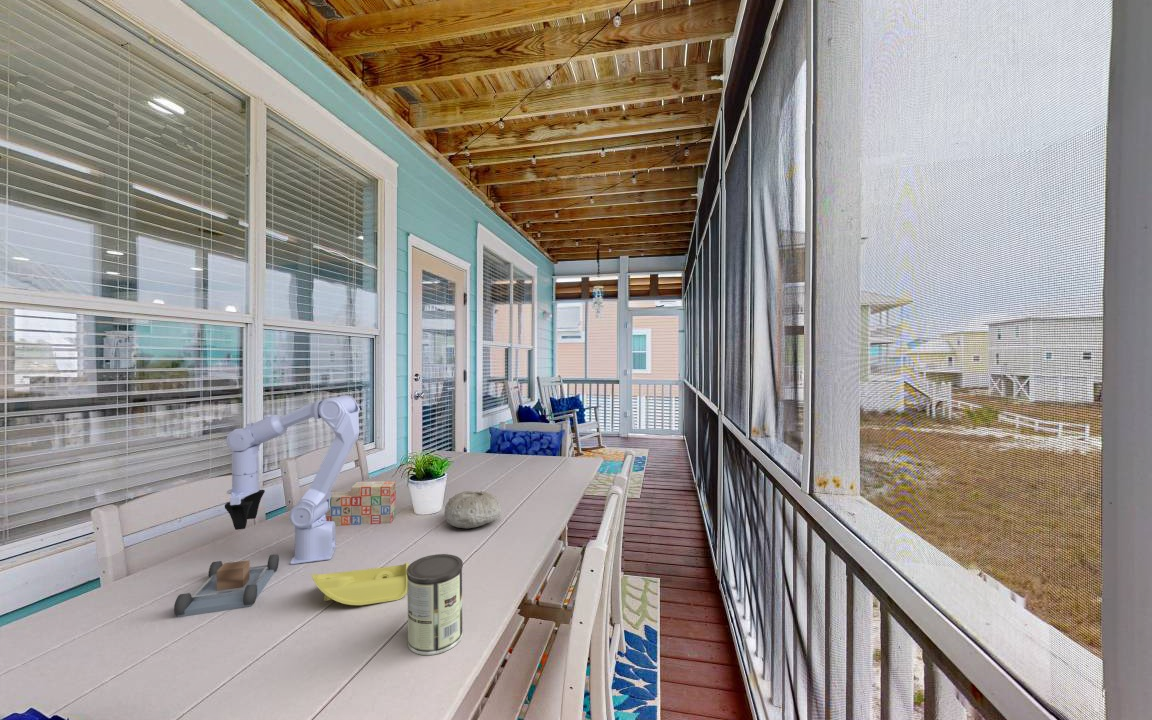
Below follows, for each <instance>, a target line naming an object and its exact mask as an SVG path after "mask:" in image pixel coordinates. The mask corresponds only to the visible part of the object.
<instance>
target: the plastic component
mask: <svg viewBox="0 0 1152 720" xmlns="http://www.w3.org/2000/svg"><path fill="white" fill-rule="evenodd" d="M409 565H410V564H409V562H406V563H404V564H401V565H391V566H385V567H384V566H383V567H376V568H375V567H374V568H367V569H365V568H364V569H358V570H357V569H356V570H349V571H342V572H332V573H322V574H321V573H320V574H319V573H318V574H315V573H313V574H311V577H312V580H313V582H314V583H315V585H316V586H317V588H318V589H319V591H321V592H322V593H323V594H324V602H325V601H332V600H334V601H335V602H337V603H341V604H343V605H349V606H366V605H372V604H378V603H380V604H381V603H386V602H391V601H392V602H393V601H398V600H401V599H402V598H403V597H405V595H407V594H408V593H407V568H408V566H409Z"/></svg>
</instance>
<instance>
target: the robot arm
mask: <svg viewBox="0 0 1152 720" xmlns="http://www.w3.org/2000/svg"><path fill="white" fill-rule="evenodd" d="M360 411H361V409H360V406H359V404H358V402H357V401H356V399H355V398H354V397H353V396H351V395H349V394H341V395H338V396H336V397H328V398H325V399H323V400H319V401H314V402H311V403H308V404H306V405H304V406H302V407H300V408H298V409H296V410H294V411H291V412H289V413H287V414H285V415H284V414H283V416H282V415H280V414H279V415H278V414H266V415H264V416H263V419H260V420H258V421H256V422H249V423H246V427H243V428H234V429H233V430H232V431H230V432H229V433H228V435H227V436H226V440H225V441H226V442H225V443H226V445H227V447H228V448H229V449H230V450H231V489H228V490H227V491H226V494H227V495H231V496H230V497H229V501H228V502H226V503H225V504H224V509H225V510H226V511H227V513H228V514H229V516H230V519H231V521H232V525H233V528H234V530H245V529H246V528H247V523H248V520H253V519H256V518H257V515H258V511H259V507H260V502H261V500H262V498H263V496H264V494H265V493H266V491H265V490H266V489H260V481H259V480H260V479H259V476H260V475H259V474H260V473H259V472H260V471H259V468H260V467H259V463H260V462H259V451H260V445H262V444H264V443H266V442H267V441H271V440H273V439H275V438H277V437H279V436H282V435H285V433H286V432H287V430H288V428H289V427H291V426H293V425H296V424H299V423H301V422H304V421H307V420H309V419H312V418H314V419H318V420H319V419H322V420H323V421H324V422H325V424H327V425H328V426H329V427H330V428H331V429H332V431H333V433H334V438H333V440H332V442H331V445H330V447H329V449H328V450H327V452H326V455H325V457H324V459H323V460H322V463H321V464H320V466H319V469H318V471H317V472H316V474H315V476H314V479H313V481H312V482H311V485H310V487H309V488H308V490H306V492H305V493H304V494H303V496H302V497H300V500H299V502H297V504H296V505H295V506H293V508H292V509H291V510H290V511H289V514H288V515H289V516H288V517H289V518H288V519H289V521H290V523H291V524H292V525H293V527H294V555H293V557H292V559H291V560H290V562H289V564H290V565H296V564H304V563H312V562H320V561H328V560H331V559H332V557H333V555H334V552H335V551H336V549H337V546H336V525H335V522H334V521H326V517H325V514H326V513H327V512H328V510H329V508H330V499H331V496H332V493H331V492H332V489H333V488H334V486H335V483H336V482H337V480H338V477H339V476H340V473H341V471H342V470H343V467H344V465H345V463H346V461H347V459H348V458H349V455H350V453H351V452H352V450H353V448H354V445H355V443H356V441H357V439H358V437H359V435H360V421H359V420H360V419H359V415H360Z"/></svg>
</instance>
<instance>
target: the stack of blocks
mask: <svg viewBox="0 0 1152 720" xmlns="http://www.w3.org/2000/svg"><path fill="white" fill-rule="evenodd" d="M396 485H397V483H396V481H394V480H393V481H392V480H391V481H386V480H380V481H379V480H376V481H357V482H355V484H354V485H352V486H351V487H350V491H347V490H346V491H345V490H344V491H343V490H342V491H331V493H332V496H331V499H330V508H329V510H328V512H327V513H326V514H325V517H326V521H334V522H335V526H352V525H353V526H355V525H359V526H360V525H380V524H381V525H385V524H388V525H389V524H392V522H393V520H394V519H395V518H396V513H397V512H396V509H397V508H396V503H397V501H396V498H397V495H396V494H397V490H396V489H397V488H396Z"/></svg>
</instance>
